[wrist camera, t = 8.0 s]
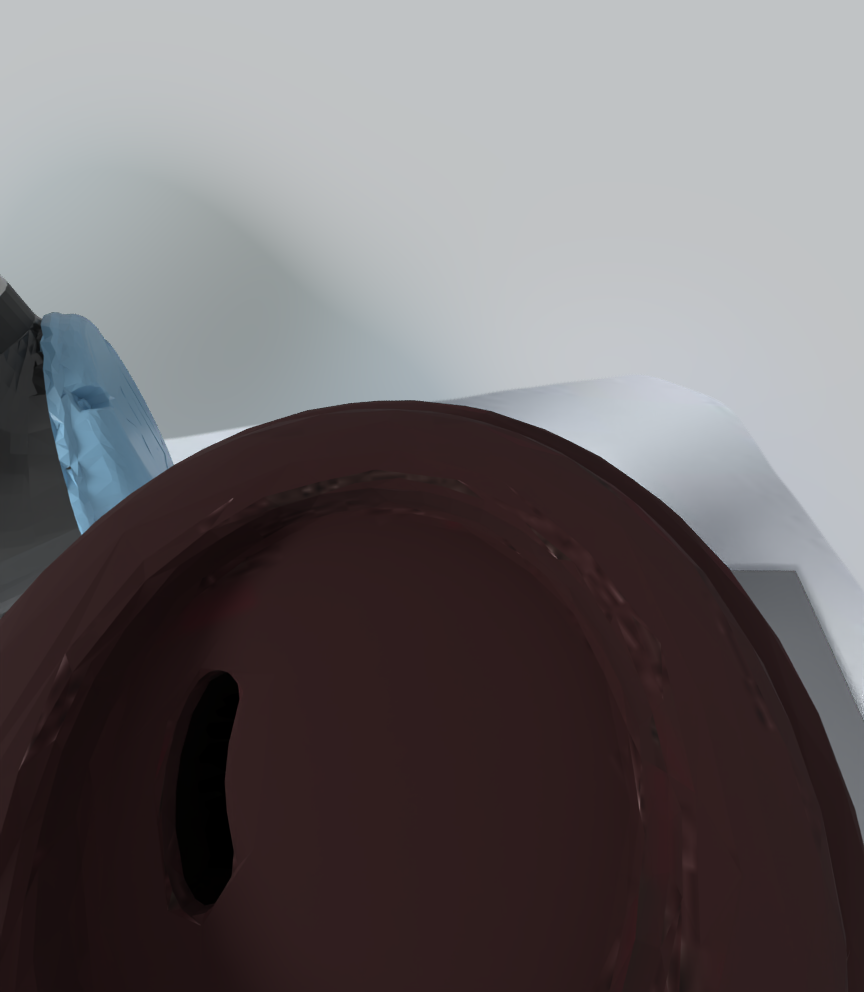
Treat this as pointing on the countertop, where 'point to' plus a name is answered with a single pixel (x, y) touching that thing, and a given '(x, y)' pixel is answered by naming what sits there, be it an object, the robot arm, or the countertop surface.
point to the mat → (813, 669)
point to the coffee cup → (411, 734)
